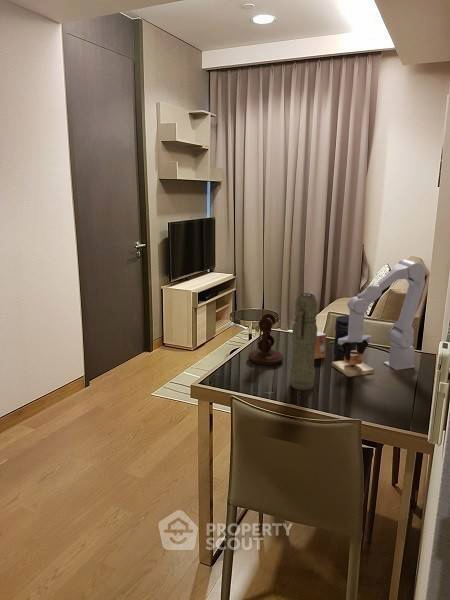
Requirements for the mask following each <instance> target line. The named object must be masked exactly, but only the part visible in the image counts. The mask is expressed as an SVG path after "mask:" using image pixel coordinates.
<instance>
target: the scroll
mask: <svg viewBox="0 0 450 600" xmlns="http://www.w3.org/2000/svg"><path fill="white" fill-rule="evenodd" d="M275 324H276V318H275V316H274V314H272V313H265V314H264V315H263V316H262V318H261V319H260V320H259V321H258V327H259V335H258V340H257V349H254V350H252V351H250V352H249V353H248V360H249V361H250V363H251V364H252V365H253V364H254V363H255V364H258V365H267V366H268V365H270V366H271V365H273V367H274V368H275V367H276V366H277V364H279V363H281V362H283V361H284V354H283V353H281V352H280V351H278V350H276V349H272V347H273V346H274V345H275V338H274V337H273V336H272V335H271V332H272V329H273V326H274V325H275Z"/></svg>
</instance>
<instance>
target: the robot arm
mask: <svg viewBox="0 0 450 600" xmlns="http://www.w3.org/2000/svg"><path fill="white" fill-rule="evenodd" d="M426 272H427V270H426V268H425V267H424V265H423V264H422V263H420V262H416V261H412V260H409V259H406V258H403V259H401V260H399V261H398V263H395V264H394V266H393V268H392V269H391V270H390V271H388V273H387V274H386V275H384V276H383V277H382V278H381V279H380V280H379V281H378V282H377V283H375V284H370V285H369V284H368V285H367V286H366V288H365V289H364V290H363V291H362V292H360V293H358V294H357V296H352V297H351V298H350V299H349V301H348V302H347V304H346V306H347V308H348V310H349V315H348V316H349V326H348V336H346V337H343V338H339V339H338V344H340V345H341V346H342V348H343V351H344V354H343V355H344V356H345V359H346V360H347V361H349V360H350V353H351V350H352V347H353V346H351V345H350V343H353V342H356V344H357V346H356V351H358V352H359V353H361V354H363V355H364V352H365V351H366V348H368V346H369V342H371V341H372V338H373V337H372V335H370V334H364V323H365V314H366V313H367V312H368V310H369V307H370V306H371V304H372V303H373V302H375V301H376V300H378V299H379V298H380V297H382V292H383V291H384V290H385V289H387V288H388V287H389V286H391V285H392V284H394V283H396V282H397V281H399V280H406V281H407V283H408V288H407V291H406V294H405V297H404V300H403V304H402V307H401V310H400V314H399V316H398V320H397V321H396V322H394V323H393V324H392V326H391V328H390V329H389V330H388V333H387V337H388V339H389V341H390V342H389V343H390V347H389V356H388V361H383V364H385V365H386V366H387V367H390V368H392V369H394V370H396V371H398V370H399V371H400V370H406V369H411V368H415V365H414V364H415V363H414V360H415V355H416V354H415V348H414V346H413V344H414V340H415V338H414V333H415V330H414V328H413V326H412V325H413V322H414V319H415V316H416V313H417V309H418V308H419V307H418V306H419V305H420V304H419V303H420V300H421V297H422V295H423V291H424V288H425V285H426V280H425V275H426V274H425V273H426Z"/></svg>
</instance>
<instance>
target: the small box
mask: <svg viewBox="0 0 450 600" xmlns="http://www.w3.org/2000/svg"><path fill="white" fill-rule="evenodd" d="M326 343H327V334H325V333H323V332H321V331H320V330H317V342H316V344H315V354H314V360H316V359H323V358H325V356H326V346H327V345H326Z"/></svg>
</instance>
